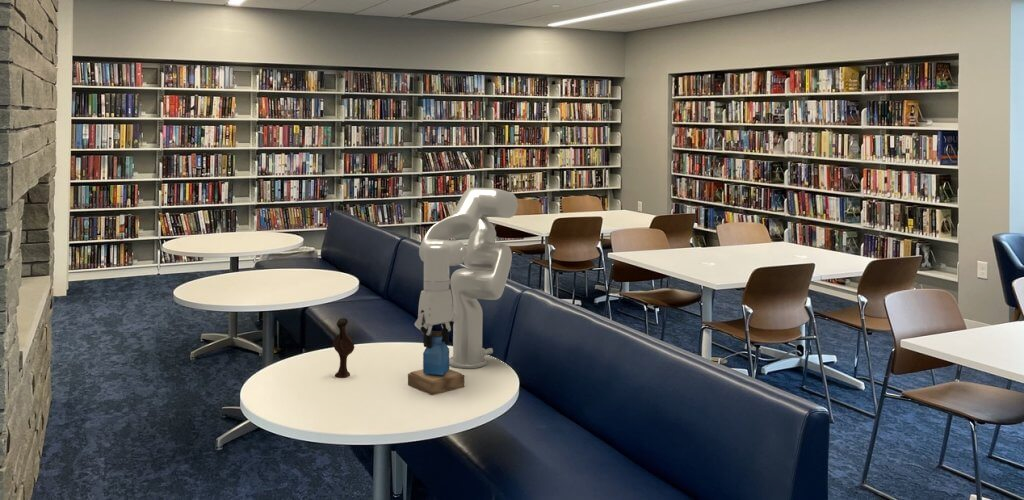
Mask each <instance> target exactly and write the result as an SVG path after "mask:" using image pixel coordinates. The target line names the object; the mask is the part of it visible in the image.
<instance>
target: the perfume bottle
mask: <svg viewBox="0 0 1024 500" xmlns="http://www.w3.org/2000/svg"><path fill="white" fill-rule="evenodd" d="M441 334H442V332H441V330H431V333H430V335H432V348H427V347H425V349H424V351H423V353H422V359H423V360H422V362H423V363H422V369H423V374H436V375H444V374H445V373H446V372H447V371H448V370H449V369H450V365H449V358H450V348H449V345H446V344H445V342H441V340H442V335H441Z"/></svg>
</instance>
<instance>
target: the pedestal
mask: <svg viewBox="0 0 1024 500" xmlns="http://www.w3.org/2000/svg"><path fill="white" fill-rule="evenodd" d="M407 385H408V386H409V387H410V388H411V387H412V388H414V389H417V390H419V391H421V392H423V393H426V394H428V395H431V396H434V395H439V394H442V393H445V392H449V391H454V390H457V389H461V388H464V387H465V375H464V374H463V373H460V372H459V371H456V370H453V369H451V368H449V370H448V371H447V372H446V373H445V374H444V375H436V374H423V368H421V369H417V370H414V371H410V372H409V373H407Z"/></svg>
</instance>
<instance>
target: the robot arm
mask: <svg viewBox="0 0 1024 500" xmlns="http://www.w3.org/2000/svg"><path fill="white" fill-rule="evenodd" d="M518 206H519V205H518V199H517V197H516V195H515V194H514V193H513V192H510V191H506V190H504V189H499V188H493V187H492V188H491V187H489V188H488V187H470V188H468V189H466V190H465V191H464V192H463V193H462V195H461V197H460V199H459V201H458V202H457V205H456V206H455V208H454V210H453V212H452V213H451V215H449V216H447V217H445V218H443V219H441V220H440V221H438V222H436V223H435V224H433V225H432V226H430V227H429V229H428V230H427V231H426V233H425V235H424V237H423V239H422V241H421V242H420V245H419V250H418V256H419V257H420V260H421V261H422V262H423V290H421V291H420V295H419V301H418V310H417V311H418V312H417V313H418V314H417V319H416V320H415V322H414V326H415V327H416V329H418V331H420V332H421V334H423V337H422V338H423V340H422V341H423V347H424V348H426V347H427V348H432V334H431V332H432V329H433V326H436V325H440V324H441V325H440V326H441V328H442V329H440V331H441V332H442V334H441V335H442V340H441V342H445V344H446V345H447V346H449V345H450V332H451V331H452V329H453V331H452V332H453V333H452V335H453V336H452V344H453V345H452V351H453V352H452V356H450V357H449V366H451V367H454V368H458V369H477V368H481V367H483V366H486V365H487V358H485V357H486V356H488V355H492V354H493V353H494V350H493V349H494V348H492V347H489V348H486V349H485V348H484V347H483V320H484V319H483V317H484V316H483V308H482V306H481V303H480V302H479V300H487V301H488V300H489V301H495V300H496V301H497V300H499V299H500V298H501V297H502V296H503V293H504V290H505V287H506V283H507V280H508V276H509V273H510V269H511V266H512V260H513V259H512V257H513V255H512V254H513V253H512V249H511V247H510V246H509V245H508V244H506V243H503V242H495V241H496V239H497V231H496V229H495V227H494V225H493V224H492V223H491V221H490V220H489V218H501V219H502V218H503V219H504V218H505V219H511V218H513V217H514V216H515V215H516V213H517V211H518ZM469 234H470V235H469ZM466 235H469V238H468V242H467V244H466V245H465V244H464V243H463V242H462V241H458V240H451V239H455V238H459V237H463V236H466ZM462 264H464V266H465V267H463V268H458V269H456V270H454V271H453V272H452V274H451V277H450V267H457V266H460V265H462Z"/></svg>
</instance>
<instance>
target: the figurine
mask: <svg viewBox="0 0 1024 500" xmlns="http://www.w3.org/2000/svg"><path fill="white" fill-rule="evenodd" d="M347 324H348V318H346V317H345V318H343V317H342V318H339V319H338V320H337V322H336V326H337V328H338V329H339V334H337V335H336V336H334V339H333V340H332V341H333V342H332V345H333V349H334V350H335V351H336V352H337V354H338V357H339V367H338V368H339V369H338V370H337V372H336V373H335V374H334V377H335V378H338V379H346V378H349V377H350V375H351V373H350V371H348V368H347V367H348V365H347V362H348V356H349V355H351V354H352V353H353V351H354V350H355V343H354V341H353V339H352V338H351V337H350V336H349V334H348V333H347V331H346V326H347Z"/></svg>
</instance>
